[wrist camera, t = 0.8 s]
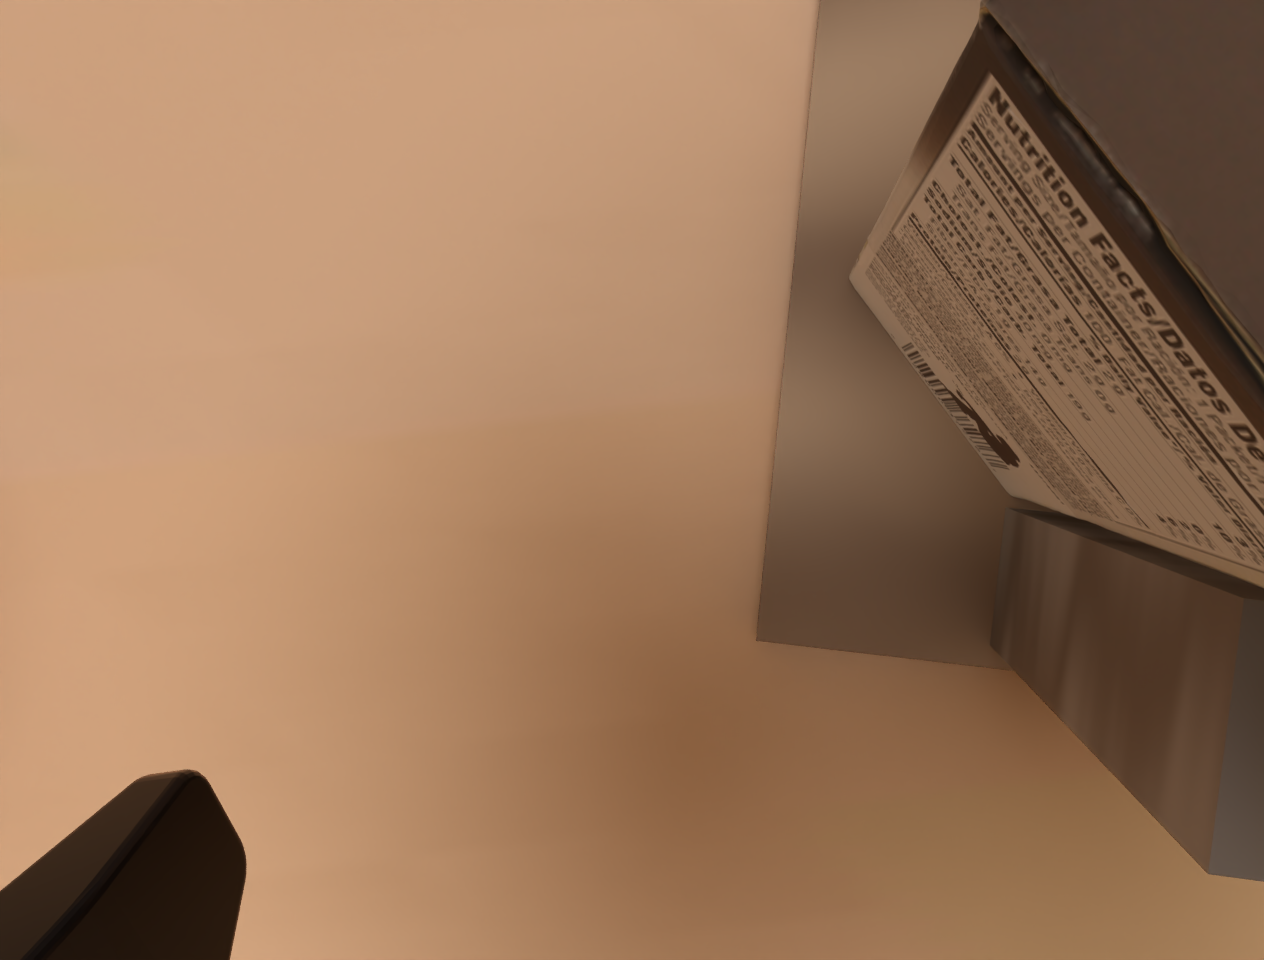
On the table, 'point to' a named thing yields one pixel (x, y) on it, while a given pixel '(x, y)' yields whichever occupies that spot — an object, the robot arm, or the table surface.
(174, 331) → the table surface
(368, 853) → the table surface
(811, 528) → the pull board
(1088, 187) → the coffee box
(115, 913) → the robot arm
